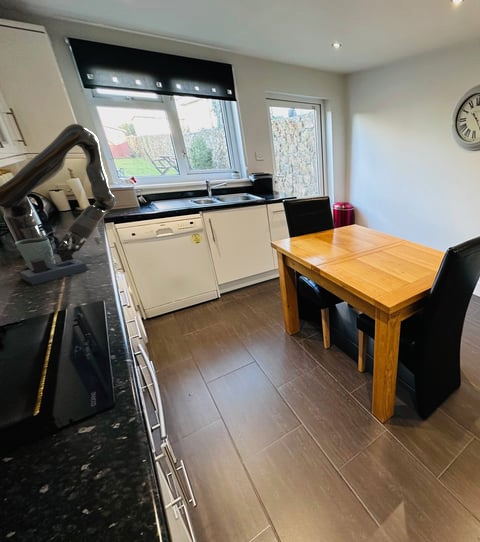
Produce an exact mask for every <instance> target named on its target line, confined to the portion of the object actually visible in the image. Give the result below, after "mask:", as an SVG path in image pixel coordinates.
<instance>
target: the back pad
mask: <svg viewBox="0 0 480 542" xmlns="http://www.w3.org/2000/svg"><path fill="white" fill-rule="evenodd" d="M67 250H69V247H68V248H67V247H62V248H59V247H58V248H56V251H58V253H59V255H58V257H59V258H60V261H61V262H64V261H68V260H72V259H74V257H73V255H72V256H71V257H70V258H69V259H68V258H65V257H63V255H64V254H65V253H66V251H67Z"/></svg>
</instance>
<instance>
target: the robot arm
mask: <svg viewBox="0 0 480 542" xmlns="http://www.w3.org/2000/svg"><path fill="white" fill-rule="evenodd" d="M76 146H77V147H79V148H81V150H82V151H83V154H84V155H85V160H86V163H85V168H84V169H85V173H86V177H87V180H88V182H89V184H90V189H91V193H92V197H93V199H94V200H95V203H93V205H92V204H91V205H88V206H86V207H85V208H84V210H83V211H82V212H81V213H80V215H78V217H77V218H76V219H75V220H74V221H73V222H72V223H71V225H70V226H69V228H68V229H67V230H68V232H70V234H69V233H65V235H64V236H63V237H62V238H61V240H60V241H59V242H58V245H59V246H58V248H62V247H67V248H69V250H67V251H66V253H65V254H64V255H63V257H65V258H68V259H69V258H70V257H71V256H72V257H73V255H74V253H76V252H79V251H80V250H81V249H82V247H83V246H84V245H85V243H86V242H87V240H86V239H89V238H90V237H91V235H92V234H93V233H94V232H95V230H96V228H97V227H98V225H99V223H100V222H101V221H102V219H103V218H104V216H105V215H106V214H108V213H109V212H110V211H111V210H113V209H114V207H115V206H116V205H117V198H116V197H115V196H114V194H112V192H111V190H110V187H109V186H110V183H109V180H108V177H107V174H106V171H105V169H104V165H103V161H102V156H101V151H100V143H99V139H98V137H97V136H96V134H94V133H93V132H92V131H91V130H88V129H87V128H86V127H84V126H83V125H82V124H78V123H71V124H69V125H67V126H66V127H65V128H64V129H62V131H61V132H60V133H59V134H58V135H57V136H56V137H55V138H54V140H53V141H51V143H49V144H48V145H47V146H46V147H44V149H42V150H41V151H40V152H39V153H38V154H36V155H35V156H34V157H33V158H31V159H30V160H29V161H28V162H27V163H26V164H24V165H23V166H22V167H21V168H20V170H19V171H18V172H17V173H16V174H15V175H14V176H13V177H12V178H10V179H9V180H8V181H6V182H4V183H3V184H1V185H0V207H1V208H2V210H3V219H4V221H5V223H6V225H7V228H8V229H9V231H10V234H11V236H12V237H13V239H14V241H15V243H16V242H18V241H21V240H26V239H33V238H48V239H51V241H49V242H50V245H51V244H52V243H54V241H55V239H54V237H53V236H49V235H51V234H58V231H53V230H51V231H49V232H47V233H46V234H45V235H44V237H43V235H42V233H41V230H40V228H39V226H38V224H37V221H36V219H35V216H34V211H33V208H32V205H31V202H30V201H29V198H28V195H29V194H30V193H31V192H32V191H34V190H35V189H36V188H38V187H40V186H42V185H43V184H45V183H47V182H48V181H50V180H51V179H53V178H54V177H55V176H56V175H57V174H59V173H60V172H61V171H62V170H63V169H64V167H65V163H66V159H67V156H68V153H69V152H70V151H71V150H72V149H73V148H75V147H76ZM16 249H17V251H19V249H18V248H17V247H16ZM54 253H55V255H57V256H59V253H58V251H57V250H55V252H54Z"/></svg>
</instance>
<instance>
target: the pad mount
mask: <svg viewBox="0 0 480 542" xmlns="http://www.w3.org/2000/svg"><path fill="white" fill-rule="evenodd" d="M47 268H48V271H44V272H40V273H36V272H35V270H34V269H30V268H29V269H27V270H21V271H19V274H20V276H21V277H22V278H21V279H23V280H24V281H25V282H27V283H28V284H31V285H32V286H34V285H39V284H42V283H47V282H49V281H54V280H57V279H61V278H64V277H68V276H71V275H76V274H78V273H79V274H80V273H83V272H86V271H88V270H89V268H88V266H87V263H86V262H84V261H82V260H78V259H76V258H73V259H72V260H68V261H64V262H62V261H60V262H55V264H51V265H47Z"/></svg>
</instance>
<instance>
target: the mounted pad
mask: <svg viewBox="0 0 480 542" xmlns="http://www.w3.org/2000/svg"><path fill="white" fill-rule="evenodd" d="M30 262H31V264H32V266H33V268H34V270H35V272H36V273H40V272H44V271H48V268H47V266H46V263H45V261H44V260H43V259H40V258H39V259H34V260H30Z"/></svg>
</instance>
